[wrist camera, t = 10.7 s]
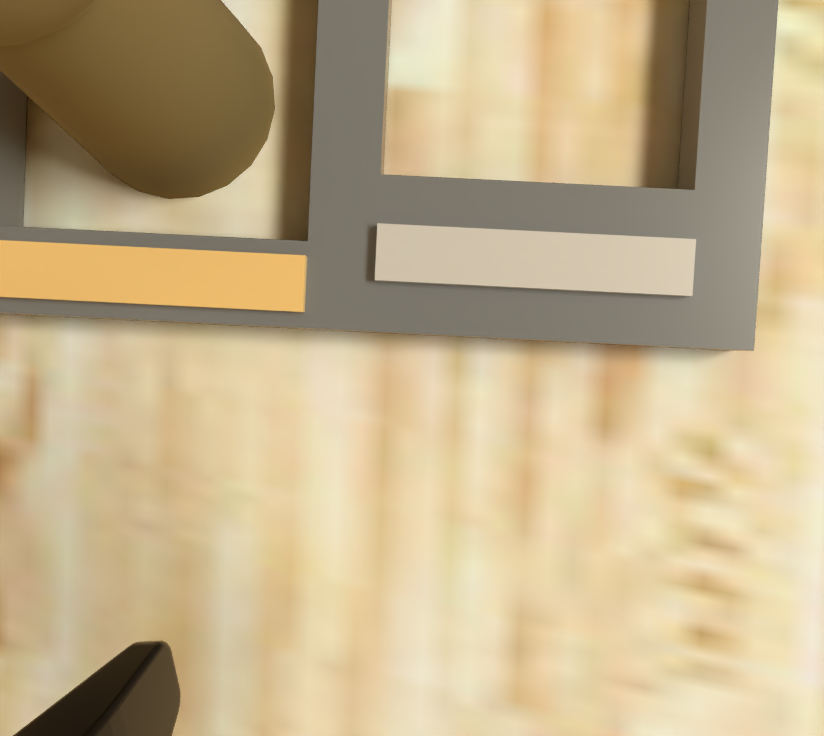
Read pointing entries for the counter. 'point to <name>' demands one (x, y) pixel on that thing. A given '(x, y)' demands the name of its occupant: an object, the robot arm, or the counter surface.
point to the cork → (145, 86)
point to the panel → (448, 223)
